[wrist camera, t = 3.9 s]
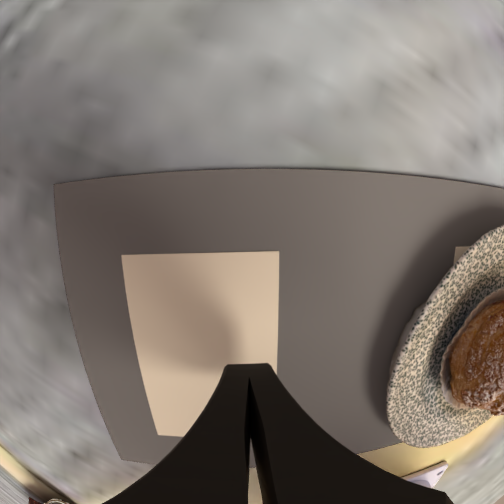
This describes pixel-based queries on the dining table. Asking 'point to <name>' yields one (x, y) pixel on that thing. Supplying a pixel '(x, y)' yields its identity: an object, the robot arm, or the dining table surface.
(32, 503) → the chocolate cake
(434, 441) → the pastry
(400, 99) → the dining table surface
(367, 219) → the label panel
